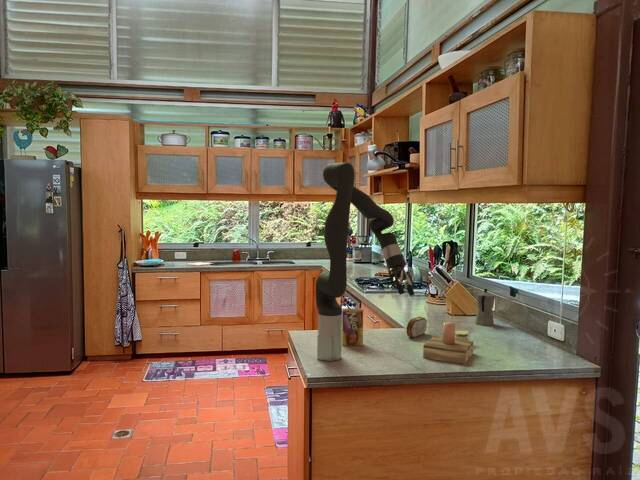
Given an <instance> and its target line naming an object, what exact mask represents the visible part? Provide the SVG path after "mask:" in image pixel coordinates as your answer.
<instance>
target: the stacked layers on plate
mask: <svg viewBox="0 0 640 480" xmlns="http://www.w3.org/2000/svg"><path fill="white" fill-rule="evenodd" d="M468 337H469V331H467V330H455V339H461V340H469V339H468Z"/></svg>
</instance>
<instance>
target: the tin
mask: <svg viewBox="0 0 640 480" xmlns="http://www.w3.org/2000/svg"><path fill="white" fill-rule="evenodd" d="M427 324H428V320H427V319H426V318H425V317H422V316H416V317H413V318H411V319H410V320H408V322H407V325H406V335H407V337H409V338H412V339H414V338H417V337H420V336H423V335H424V334H425V332H426V331H427Z"/></svg>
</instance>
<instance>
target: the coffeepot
mask: <svg viewBox="0 0 640 480" xmlns="http://www.w3.org/2000/svg"><path fill="white" fill-rule="evenodd" d="M483 291H484V292H479V293H476V294H475V298H476V306H477V313H476V316H475V321H474V323H475V324H476V325H479V326H484V327H492V326H494V325H495V321H494V314H493V308H494V304H495V298H496V295H495V294H494V293H490V292H488V289H487V288H483Z"/></svg>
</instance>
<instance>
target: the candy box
mask: <svg viewBox="0 0 640 480" xmlns="http://www.w3.org/2000/svg"><path fill="white" fill-rule="evenodd" d="M342 346H364V310H363V307H362V308H359V307H358V308H353V307H350V308H345V307H344V308H343V307H342Z"/></svg>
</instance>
